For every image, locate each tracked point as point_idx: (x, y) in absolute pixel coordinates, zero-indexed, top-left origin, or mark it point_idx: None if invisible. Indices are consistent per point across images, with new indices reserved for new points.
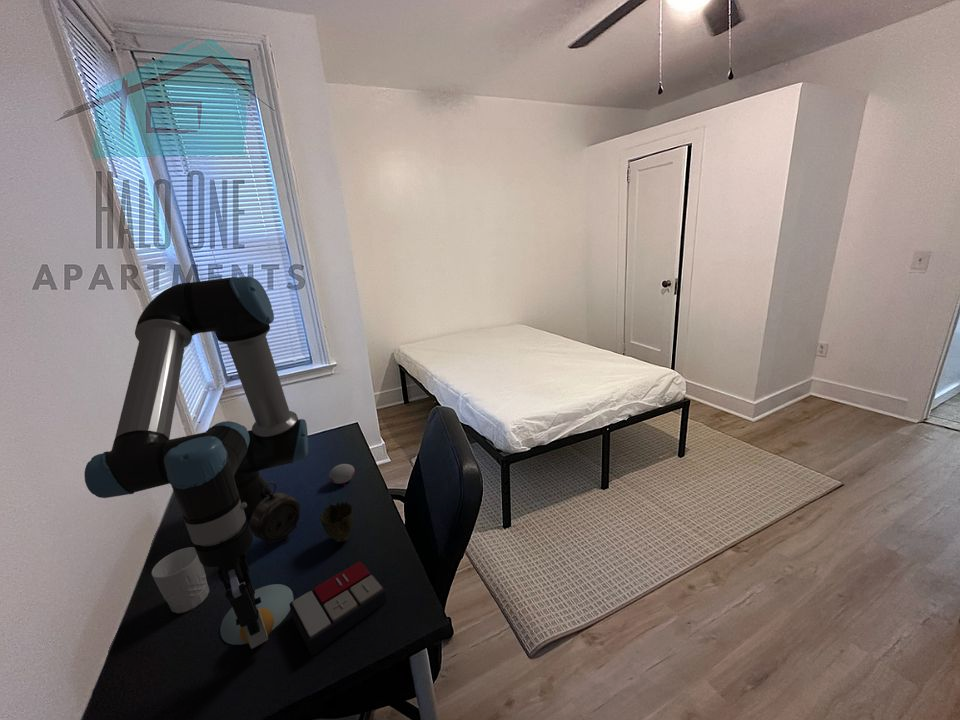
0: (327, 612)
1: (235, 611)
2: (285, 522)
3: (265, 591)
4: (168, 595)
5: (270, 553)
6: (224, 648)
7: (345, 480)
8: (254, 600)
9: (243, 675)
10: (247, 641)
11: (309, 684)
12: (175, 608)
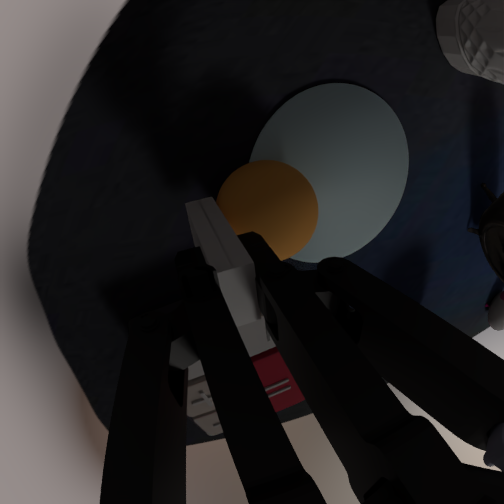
0: (199, 377)
1: (108, 457)
2: (501, 255)
3: (388, 192)
4: (487, 4)
5: (468, 195)
6: (270, 95)
7: (491, 313)
8: (273, 341)
9: (140, 165)
10: (223, 186)
11: (63, 321)
12: (451, 6)
